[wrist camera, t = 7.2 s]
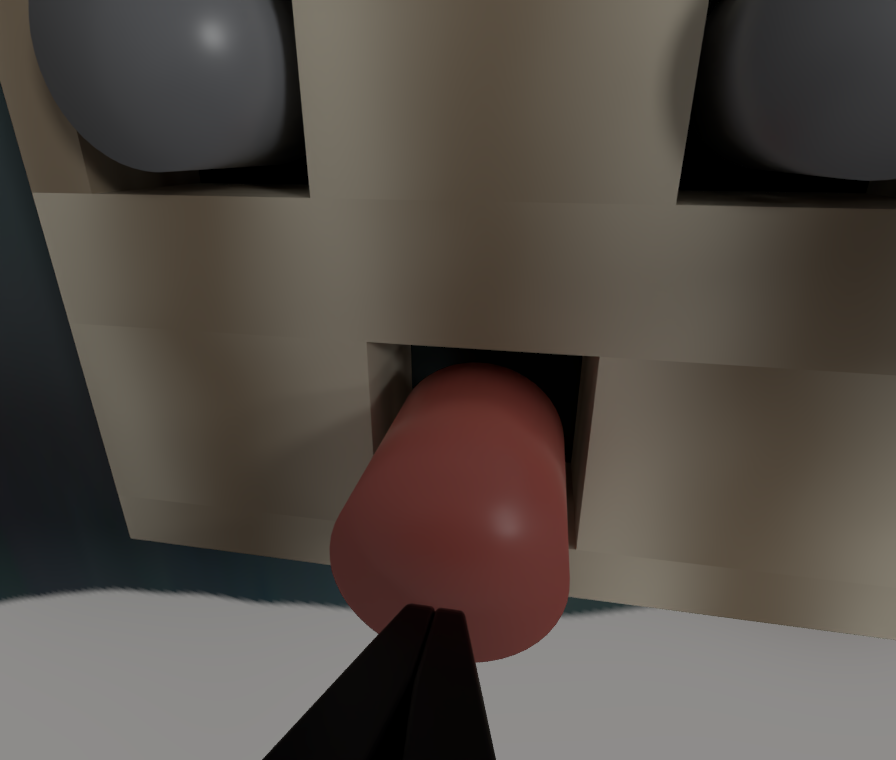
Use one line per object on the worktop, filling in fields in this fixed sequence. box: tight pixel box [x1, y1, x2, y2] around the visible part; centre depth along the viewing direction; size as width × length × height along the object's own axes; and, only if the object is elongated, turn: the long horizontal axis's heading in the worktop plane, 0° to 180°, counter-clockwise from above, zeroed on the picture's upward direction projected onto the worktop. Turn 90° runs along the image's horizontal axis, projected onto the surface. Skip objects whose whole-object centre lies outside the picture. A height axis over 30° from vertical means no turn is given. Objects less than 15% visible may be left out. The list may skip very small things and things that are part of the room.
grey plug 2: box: [690, 0, 896, 181], centre depth 9 cm, size 4×4×4 cm
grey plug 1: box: [28, 0, 306, 172], centre depth 11 cm, size 4×4×4 cm
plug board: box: [0, 0, 896, 640], centre depth 13 cm, size 20×16×4 cm
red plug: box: [329, 362, 570, 663], centre depth 11 cm, size 4×4×4 cm
